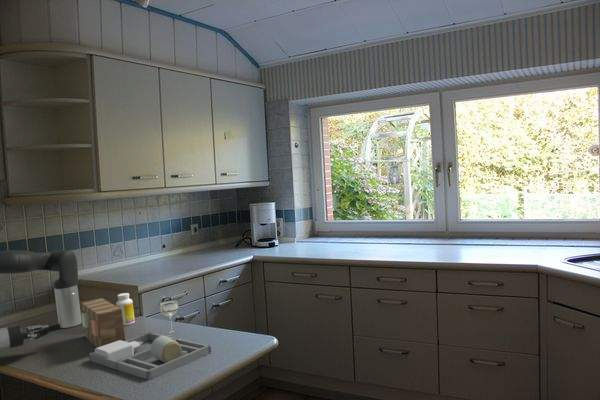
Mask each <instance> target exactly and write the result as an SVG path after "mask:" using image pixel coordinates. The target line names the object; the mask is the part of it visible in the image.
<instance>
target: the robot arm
mask: <svg viewBox="0 0 600 400" xmlns="http://www.w3.org/2000/svg"><path fill="white" fill-rule="evenodd" d="M33 271H50V272H58V276H59V277H58V279H57V280H54V282H53V290H54V297H55V304H56V305H55V306H56V313H57V322H58V323H53V324H49V325H48V324H37V325H30V326H26V328H22V326H21V324H16V325H11V326H7V327H3V328H0V351H5V350H9V349H13V348H18V347H21V346H23V345H24V341H25V340H33V339H35V340H37V339H39V338H42V337H44V336H47V335H49V333H51V332H55V331H58V330H60V329H65V328H73V327H76V326H78V325H81V324H82V316H81V313H82V311H81V303H80V297H79V290H78V278H79V270H78V258H77V255H76V254H75V253H74V251H72V250H69V249H66V250H65V249H64V250H63V249H62V250H53V251H47V252H46V251H44V252H35V251H29V250H19V249H18V250H15V249H14V250H13V249H12V250H11V249H10V250H3V251H0V274H1V275H3V274H5V275H7V274H10V275H11V274H24V273H30V272H33Z"/></svg>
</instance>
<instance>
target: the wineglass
mask: <svg viewBox="0 0 600 400" xmlns="http://www.w3.org/2000/svg"><path fill="white" fill-rule="evenodd" d="M159 305H160V308H159V309H160V313H161V314H163V315H164V317H165V316H166V317H168V318H169V324H170V330H171V331H169V333H171V332H174V331H175V330H173V321H172V318H173V316H174V315H175V314H177V312H178V311H179V304H178V300H166V301H162V302H160V303H159Z"/></svg>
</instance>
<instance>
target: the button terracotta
mask: <svg viewBox="0 0 600 400" xmlns="http://www.w3.org/2000/svg"><path fill="white" fill-rule="evenodd" d="M91 326H92V334H93V335H94V336H95V337H97V336H99V330H98V322H97V321H96V320H91Z"/></svg>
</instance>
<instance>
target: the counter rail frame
mask: <svg viewBox="0 0 600 400" xmlns="http://www.w3.org/2000/svg"><path fill="white" fill-rule="evenodd" d="M159 336H165V335H163V334H160V333H153V332H148V333H144V334H142V335H139V336H136V337H133V338H130V339H127V340H125V342H129V343H130V342H132V341H136V342H140V343H141V342H143V343H146V342H148V341H152V342H153V341H154V340H155V339H156V338H157V337H159ZM166 336H167V337H169V338H171V339H173V340H175V341H176V342H178V343H179V344H180V346H181V349H184V350H186V351H188V354H186V355H183V356H180V357H179V358H176V359H174V360H171V361H169V362H167V363H165V362H163V363H162V364H160V365H157V364H153V363H150V362H148V361H147V362H146V361H145V360H147V359H150V358H152V357H153V356H152V354H151V348H149V349H148V348H147V349H145V350H143V351H141V352H138V353H136V354H135V353H134V354H133V355H132V356H130V357H127V358H124V359H122V360H119V361H117V360H114V359H111V358H108V357H104V356H101V355H98V354H95V351H94V352H93V351H92V352H90V353H89V354H88V356H89V361H90V362H92V363H95V364H99V365H102V366H105V367H107V368H111V369H113V370H116V371H120V372H123V373H126V374H129V375H132V376H135V377H138V378H140V379H141V378H142V379H145V380H147V381H150V380H152V379H154V378H156V377H158V376H161V375H163V374H166V373H168V372H171V371H172V370H174V369H177V368H180V367H181V366H184V365H187V364H189V363H191V362H194V361H196V360H198V359H200V357H201V358H202V356H203V357H205V356H207V355H209V354H208V353H210V352H211V353H212V348H211V345H209V344H204V343H200V342H195V341H191V340H187V339H183V338H177V337H174V336H173V337H172V336H170V335H166ZM211 353H210V354H211ZM206 354H207V355H206ZM204 355H205V356H204ZM195 359H196V360H195Z"/></svg>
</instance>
